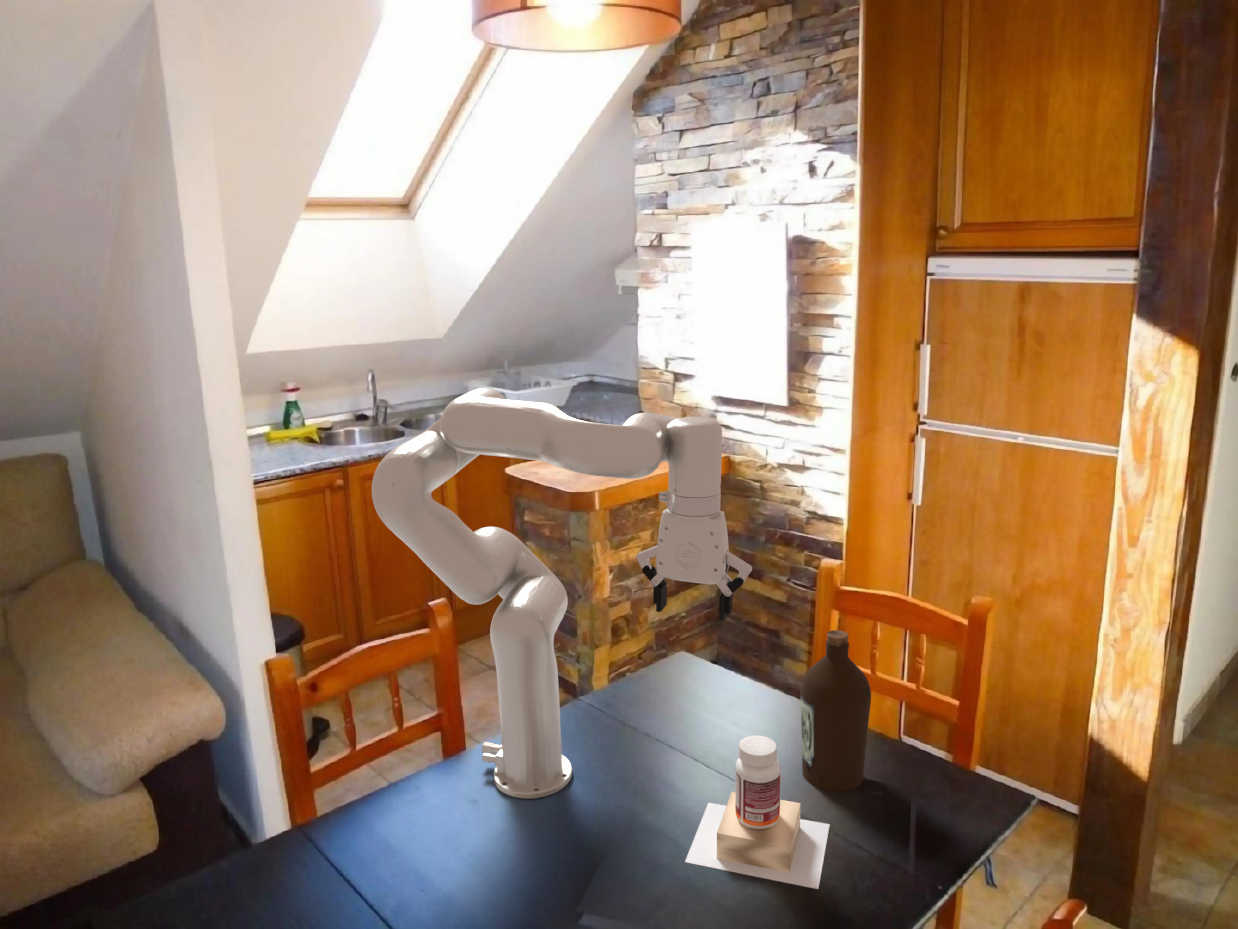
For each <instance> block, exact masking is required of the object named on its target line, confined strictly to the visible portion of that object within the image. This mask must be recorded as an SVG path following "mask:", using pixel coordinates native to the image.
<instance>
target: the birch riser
mask: <svg viewBox="0 0 1238 929" xmlns="http://www.w3.org/2000/svg"><path fill="white" fill-rule="evenodd" d="M801 804H802V803H800V802H795V801H789V800H784V799H780V817H779V820H778V822H777V823H776V824H775V825H774V826H772V827H770V828H766V829H753V828H749V827H746V826H744V825H743V824H742V823H740V822H739V820H738V819H737V817H736V809H735V791H733V790H732V791H731V793H730V795H729V798H728V801H727V804H726V805H725V806H726V809H725V812H724V814H723V817H722V820H721V823H720V825H719V828H718V831H717V858H718V859H723V860H728V861H733V862H738V863H743V864H748V865H753V866H758V867H763V868H768V869H773V870H778V871H783V872H788V873H790V870H791V865H792V861H793V856H794V852H795V848H796V843H797V839H798V834H799V830H800V819H801V806H802V805H801Z"/></svg>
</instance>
